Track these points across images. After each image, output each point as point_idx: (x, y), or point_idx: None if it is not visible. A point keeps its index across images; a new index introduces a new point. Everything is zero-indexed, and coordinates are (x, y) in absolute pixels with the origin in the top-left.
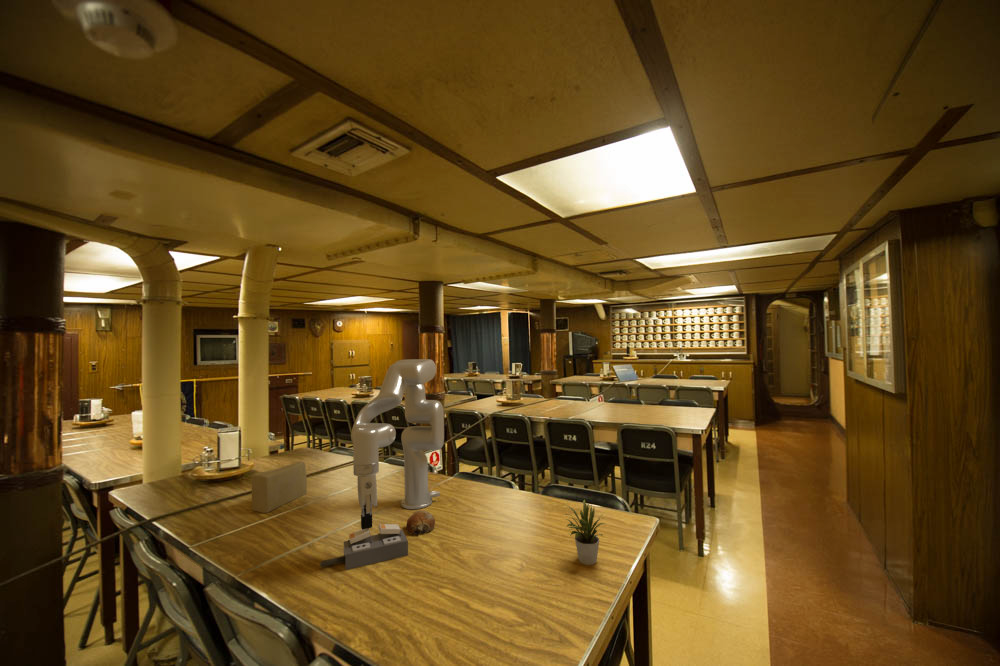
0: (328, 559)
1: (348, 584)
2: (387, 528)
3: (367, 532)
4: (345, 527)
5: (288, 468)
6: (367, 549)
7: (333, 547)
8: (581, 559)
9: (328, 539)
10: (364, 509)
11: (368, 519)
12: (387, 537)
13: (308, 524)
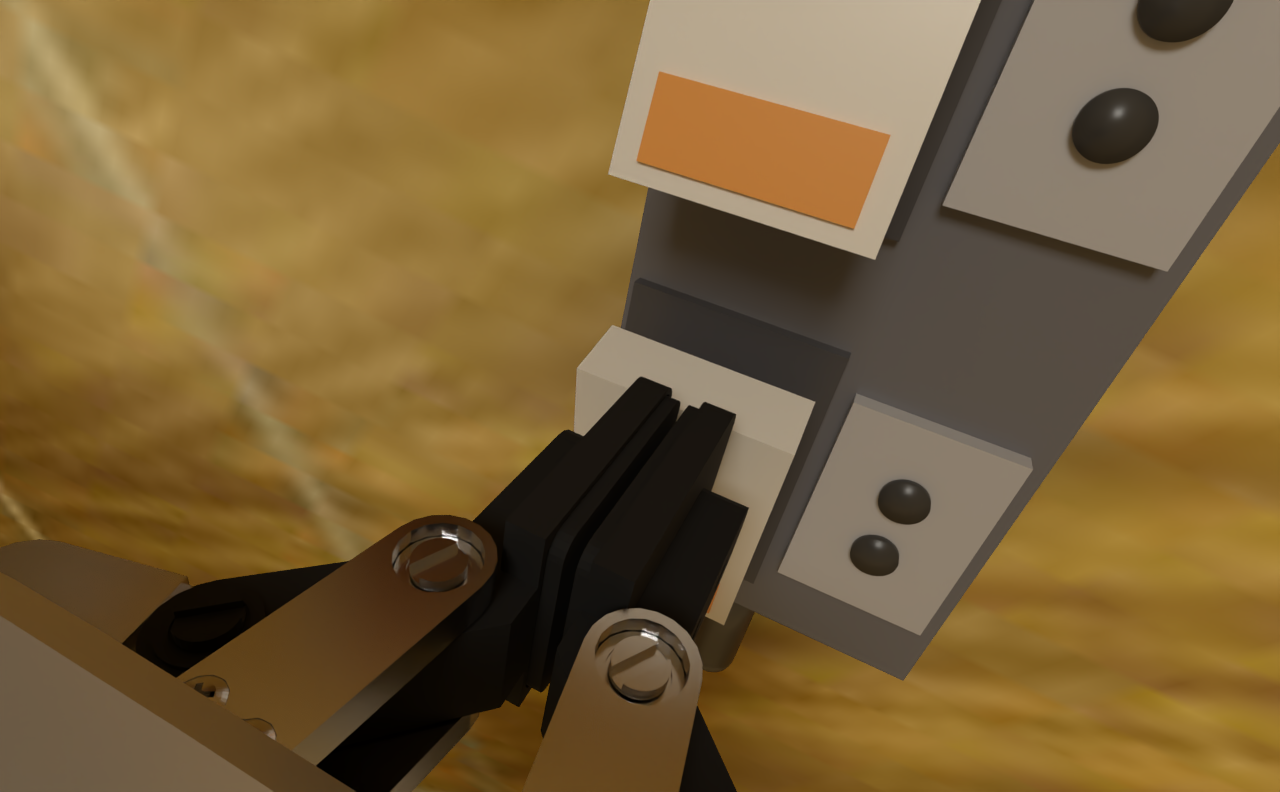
0: (712, 636)
1: (1208, 681)
2: (895, 87)
3: (781, 479)
4: (149, 200)
5: None
6: (1018, 497)
7: (448, 426)
8: None
9: (308, 389)
10: (405, 719)
11: (700, 615)
12: None
13: (69, 374)
